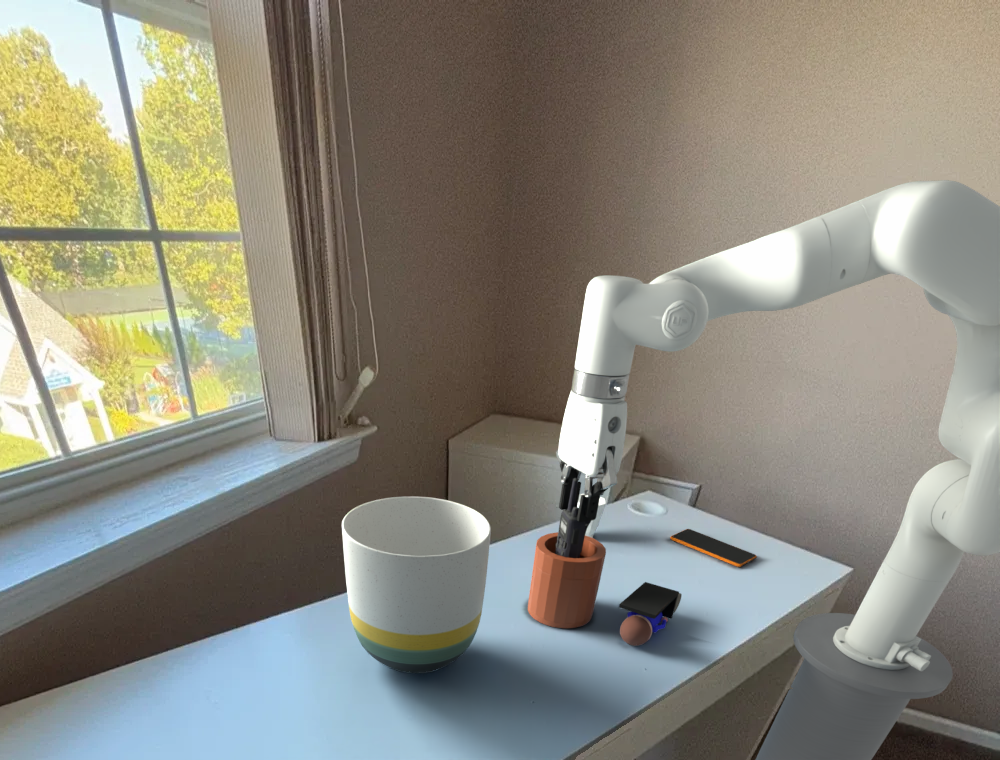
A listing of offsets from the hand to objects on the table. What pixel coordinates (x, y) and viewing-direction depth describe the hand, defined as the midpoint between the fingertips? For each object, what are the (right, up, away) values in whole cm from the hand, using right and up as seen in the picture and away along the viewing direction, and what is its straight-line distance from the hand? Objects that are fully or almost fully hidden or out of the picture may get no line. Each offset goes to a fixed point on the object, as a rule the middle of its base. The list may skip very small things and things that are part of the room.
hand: (577, 513), depth 99 cm
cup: (+7, +6, +35) cm, 36 cm away
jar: (-1, -13, +11) cm, 18 cm away
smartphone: (+35, +4, +35) cm, 49 cm away
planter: (-25, -23, -2) cm, 34 cm away
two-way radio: (0, -8, +6) cm, 10 cm away
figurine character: (+13, -17, +8) cm, 23 cm away
